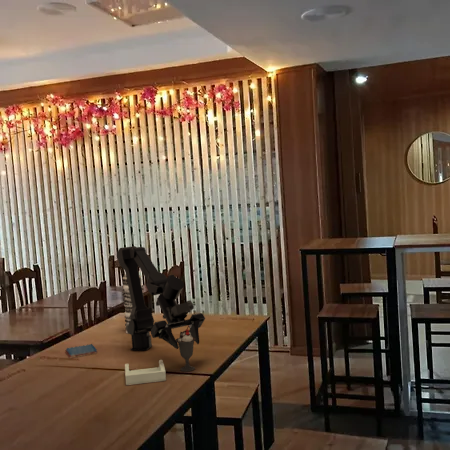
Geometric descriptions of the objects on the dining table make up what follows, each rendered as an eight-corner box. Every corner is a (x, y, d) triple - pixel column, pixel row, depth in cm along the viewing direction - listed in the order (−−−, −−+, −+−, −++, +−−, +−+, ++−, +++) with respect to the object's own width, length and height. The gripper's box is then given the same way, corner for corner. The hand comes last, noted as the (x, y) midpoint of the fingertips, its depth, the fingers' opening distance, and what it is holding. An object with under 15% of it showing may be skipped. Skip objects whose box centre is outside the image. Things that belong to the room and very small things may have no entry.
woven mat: (64, 353, 219) (64, 347, 219) (92, 348, 223) (92, 343, 223) (69, 360, 209) (68, 354, 209) (98, 355, 214) (97, 349, 213)
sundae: (195, 372, 185) (192, 327, 184) (175, 372, 187) (172, 327, 186) (200, 366, 192) (197, 322, 191) (180, 365, 193) (178, 322, 192)
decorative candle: (150, 329, 246) (146, 271, 245) (138, 334, 238) (134, 275, 236) (133, 328, 250) (129, 271, 249) (120, 333, 242) (116, 275, 240)
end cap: (125, 372, 189) (124, 364, 189) (162, 368, 191) (162, 359, 191) (126, 385, 177) (125, 375, 177) (166, 380, 179) (165, 371, 179)
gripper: (152, 298, 186) (170, 337, 177) (200, 289, 196) (220, 326, 188) (143, 318, 193) (160, 357, 184) (190, 308, 203) (208, 345, 195)
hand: (188, 345), depth 188 cm, fingers open, 8 cm apart
